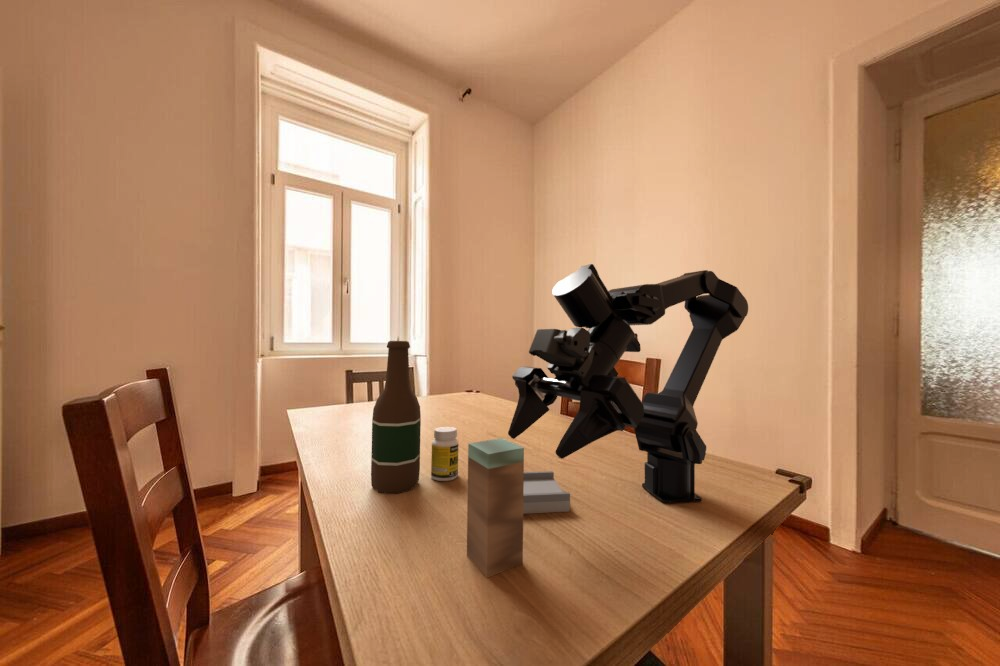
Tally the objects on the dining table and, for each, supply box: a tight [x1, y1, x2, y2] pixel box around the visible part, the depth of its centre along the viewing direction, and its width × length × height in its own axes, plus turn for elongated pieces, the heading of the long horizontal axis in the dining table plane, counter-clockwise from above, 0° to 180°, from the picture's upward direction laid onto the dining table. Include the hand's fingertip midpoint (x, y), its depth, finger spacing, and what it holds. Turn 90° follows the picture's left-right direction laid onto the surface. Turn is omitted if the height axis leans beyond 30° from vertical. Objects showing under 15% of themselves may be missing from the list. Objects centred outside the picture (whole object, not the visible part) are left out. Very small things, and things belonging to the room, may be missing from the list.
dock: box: [523, 470, 571, 515], centre depth 55 cm, size 12×9×2 cm
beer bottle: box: [370, 340, 422, 495], centre depth 60 cm, size 8×8×24 cm
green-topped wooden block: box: [466, 437, 525, 579], centre depth 40 cm, size 4×4×12 cm
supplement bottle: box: [430, 426, 460, 482], centre depth 64 cm, size 5×5×8 cm
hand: (532, 445), depth 43 cm, fingers open, 9 cm apart
